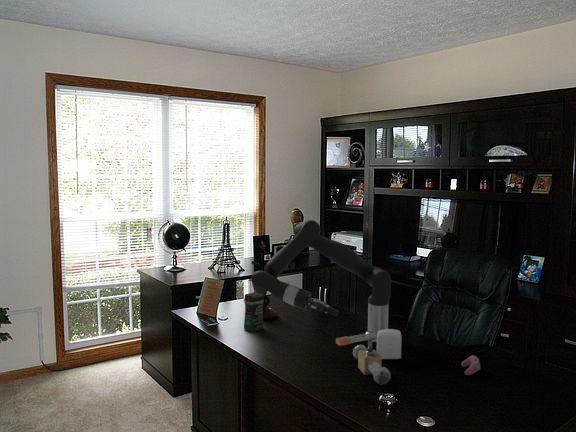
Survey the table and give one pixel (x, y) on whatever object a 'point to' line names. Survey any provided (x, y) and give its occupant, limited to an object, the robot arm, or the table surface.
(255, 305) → the coffee jar
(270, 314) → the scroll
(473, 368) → the pink curved piece
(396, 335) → the photo printer
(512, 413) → the table surface
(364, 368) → the valve
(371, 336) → the lever
